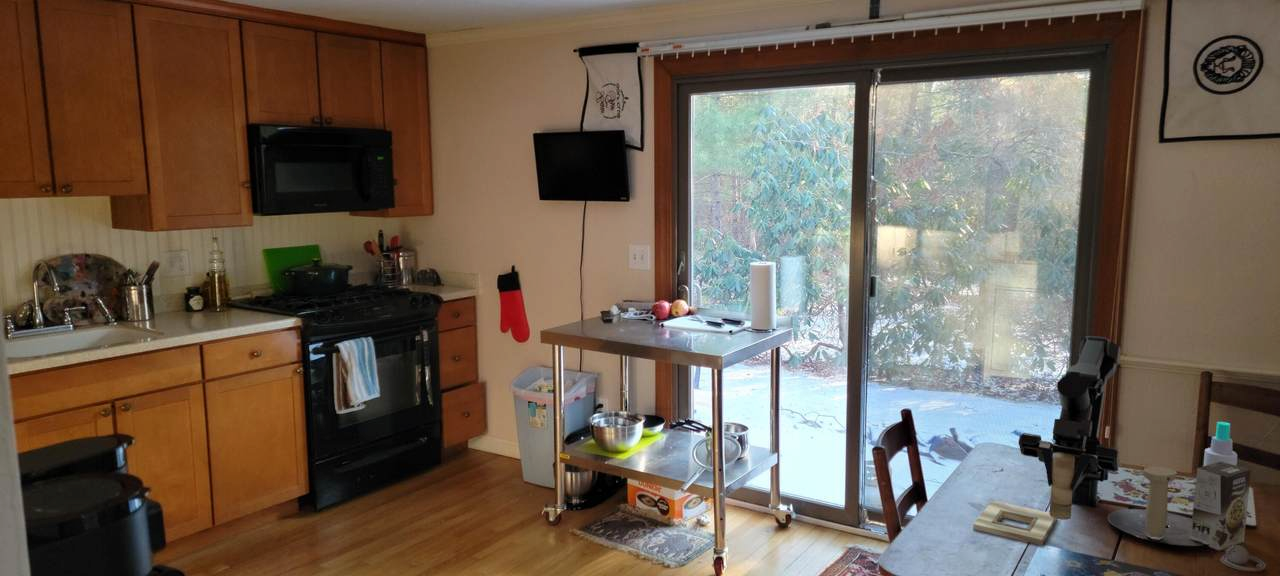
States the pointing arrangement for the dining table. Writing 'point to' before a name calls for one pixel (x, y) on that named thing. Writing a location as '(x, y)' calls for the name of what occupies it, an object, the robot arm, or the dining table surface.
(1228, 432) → the white bottle turquoise cap
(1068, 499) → the peg
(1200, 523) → the grey upright rectangular box
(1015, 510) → the socket board
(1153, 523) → the handle
